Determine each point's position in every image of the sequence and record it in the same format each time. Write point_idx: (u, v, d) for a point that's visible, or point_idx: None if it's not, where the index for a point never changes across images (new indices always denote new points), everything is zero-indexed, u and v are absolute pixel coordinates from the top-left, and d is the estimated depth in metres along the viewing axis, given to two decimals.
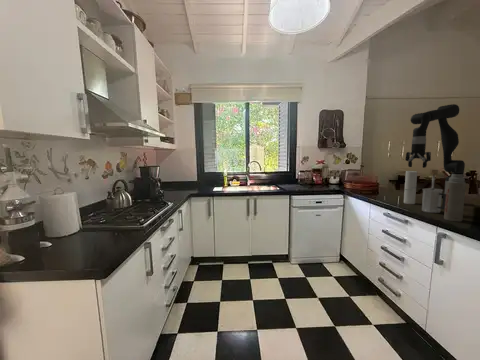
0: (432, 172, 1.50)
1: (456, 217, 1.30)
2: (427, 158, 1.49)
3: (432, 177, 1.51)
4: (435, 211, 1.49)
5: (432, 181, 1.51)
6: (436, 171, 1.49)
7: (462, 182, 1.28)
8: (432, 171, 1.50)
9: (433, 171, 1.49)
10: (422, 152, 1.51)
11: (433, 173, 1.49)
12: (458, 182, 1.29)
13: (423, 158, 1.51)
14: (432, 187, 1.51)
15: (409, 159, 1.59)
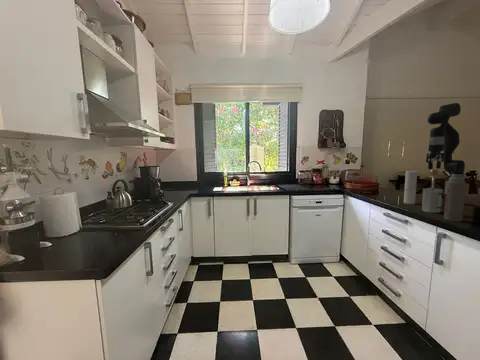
0: (432, 172, 1.50)
1: (456, 217, 1.30)
2: (443, 159, 1.51)
3: (432, 177, 1.51)
4: (435, 211, 1.49)
5: (432, 181, 1.51)
6: (436, 171, 1.49)
7: (462, 182, 1.28)
8: (432, 171, 1.50)
9: (433, 171, 1.49)
10: (440, 153, 1.49)
11: (433, 173, 1.49)
12: (458, 182, 1.29)
13: None
14: (432, 187, 1.51)
15: (432, 161, 1.47)
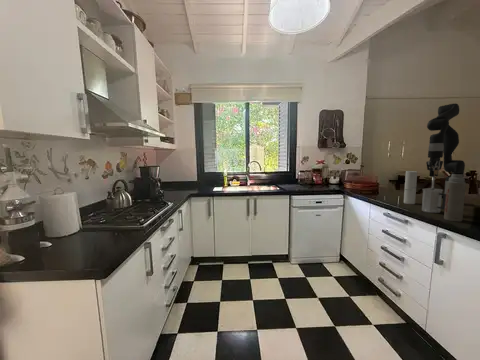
0: None
1: (456, 217, 1.30)
2: (440, 167, 1.51)
3: (432, 177, 1.51)
4: (435, 211, 1.49)
5: (432, 181, 1.51)
6: (436, 171, 1.49)
7: (462, 182, 1.28)
8: None
9: None
10: None
11: None
12: (458, 182, 1.29)
13: (439, 167, 1.50)
14: (432, 187, 1.51)
15: (433, 168, 1.48)
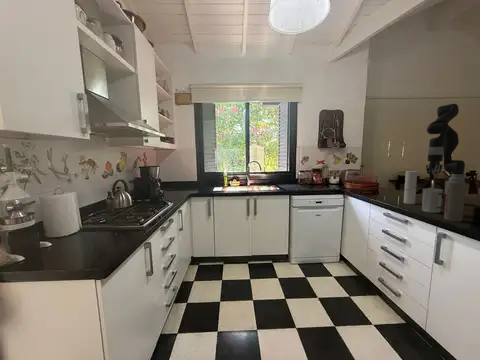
0: None
1: (456, 217, 1.30)
2: (440, 170, 1.51)
3: (432, 181, 1.51)
4: (435, 211, 1.49)
5: (432, 185, 1.51)
6: (436, 175, 1.49)
7: (462, 182, 1.28)
8: None
9: None
10: (439, 163, 1.50)
11: None
12: (458, 182, 1.29)
13: (438, 170, 1.50)
14: None
15: (433, 172, 1.49)
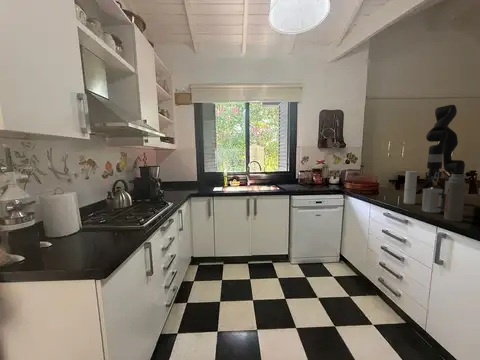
0: None
1: (456, 217, 1.30)
2: (440, 177, 1.52)
3: (431, 188, 1.52)
4: (435, 211, 1.49)
5: None
6: (435, 182, 1.50)
7: (462, 182, 1.28)
8: None
9: None
10: None
11: None
12: (458, 182, 1.29)
13: (438, 177, 1.51)
14: None
15: (432, 179, 1.49)
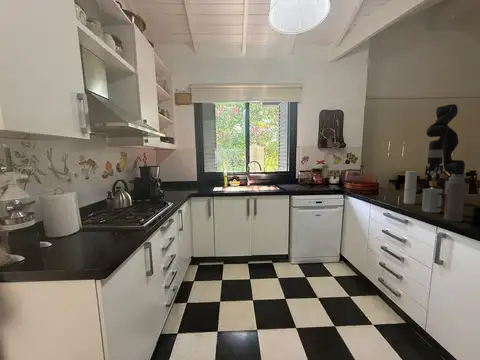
0: (431, 183, 1.51)
1: (456, 217, 1.30)
2: (442, 171, 1.52)
3: (431, 188, 1.52)
4: (435, 211, 1.49)
5: None
6: (435, 182, 1.50)
7: (462, 182, 1.28)
8: (431, 182, 1.51)
9: (432, 182, 1.50)
10: (439, 165, 1.50)
11: (432, 184, 1.50)
12: (458, 182, 1.29)
13: (440, 171, 1.51)
14: None
15: (431, 173, 1.48)
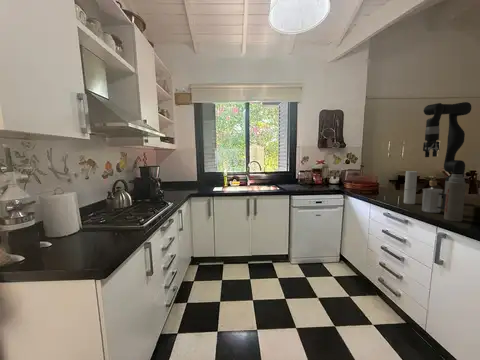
0: (431, 183, 1.51)
1: (456, 217, 1.30)
2: (438, 147, 1.61)
3: (431, 188, 1.52)
4: (435, 211, 1.49)
5: None
6: (435, 182, 1.50)
7: (462, 182, 1.28)
8: (431, 182, 1.51)
9: (432, 182, 1.50)
10: (436, 142, 1.59)
11: (432, 184, 1.50)
12: (458, 182, 1.29)
13: (436, 147, 1.60)
14: None
15: (429, 149, 1.57)
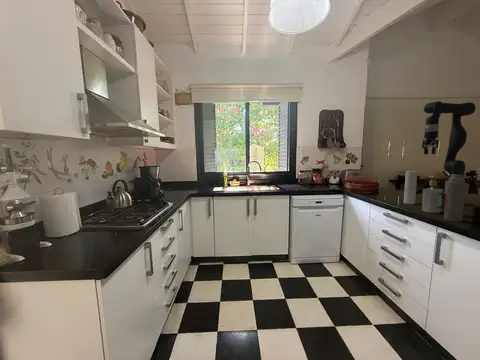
0: (431, 183, 1.51)
1: (456, 217, 1.30)
2: (437, 145, 1.63)
3: (431, 188, 1.52)
4: (435, 211, 1.49)
5: None
6: (435, 182, 1.50)
7: (462, 182, 1.28)
8: (431, 182, 1.51)
9: (432, 182, 1.50)
10: (435, 140, 1.62)
11: (432, 184, 1.50)
12: (458, 182, 1.29)
13: None
14: None
15: (428, 146, 1.60)
